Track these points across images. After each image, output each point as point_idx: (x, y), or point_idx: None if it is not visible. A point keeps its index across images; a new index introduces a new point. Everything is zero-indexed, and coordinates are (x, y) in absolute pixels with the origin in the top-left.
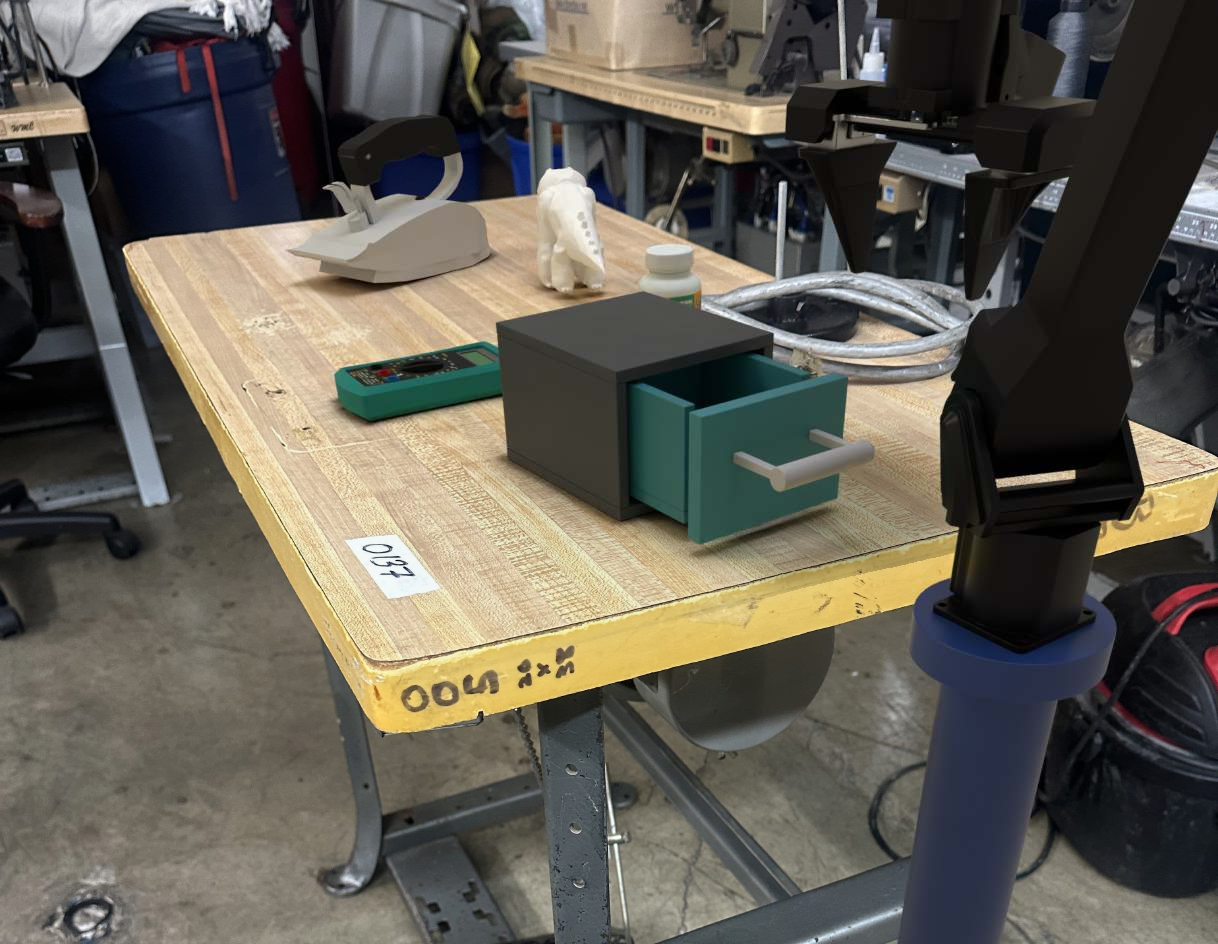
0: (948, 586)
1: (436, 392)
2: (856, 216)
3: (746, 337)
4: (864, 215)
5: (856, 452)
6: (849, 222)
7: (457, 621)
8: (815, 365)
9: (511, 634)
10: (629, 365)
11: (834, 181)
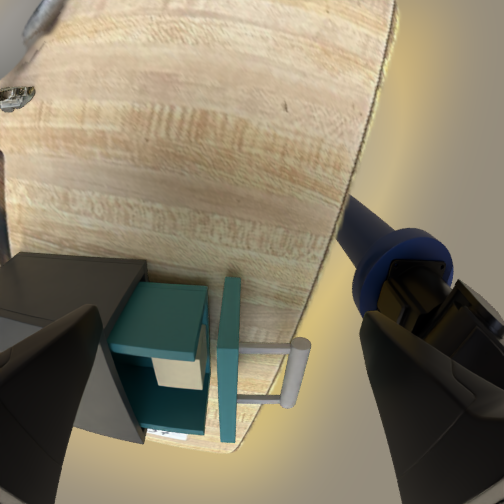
0: (369, 292)
1: None
2: (62, 398)
3: (102, 363)
4: (51, 379)
5: (306, 362)
6: (72, 403)
7: (219, 438)
8: (8, 88)
9: (242, 433)
10: (134, 436)
11: (59, 477)
